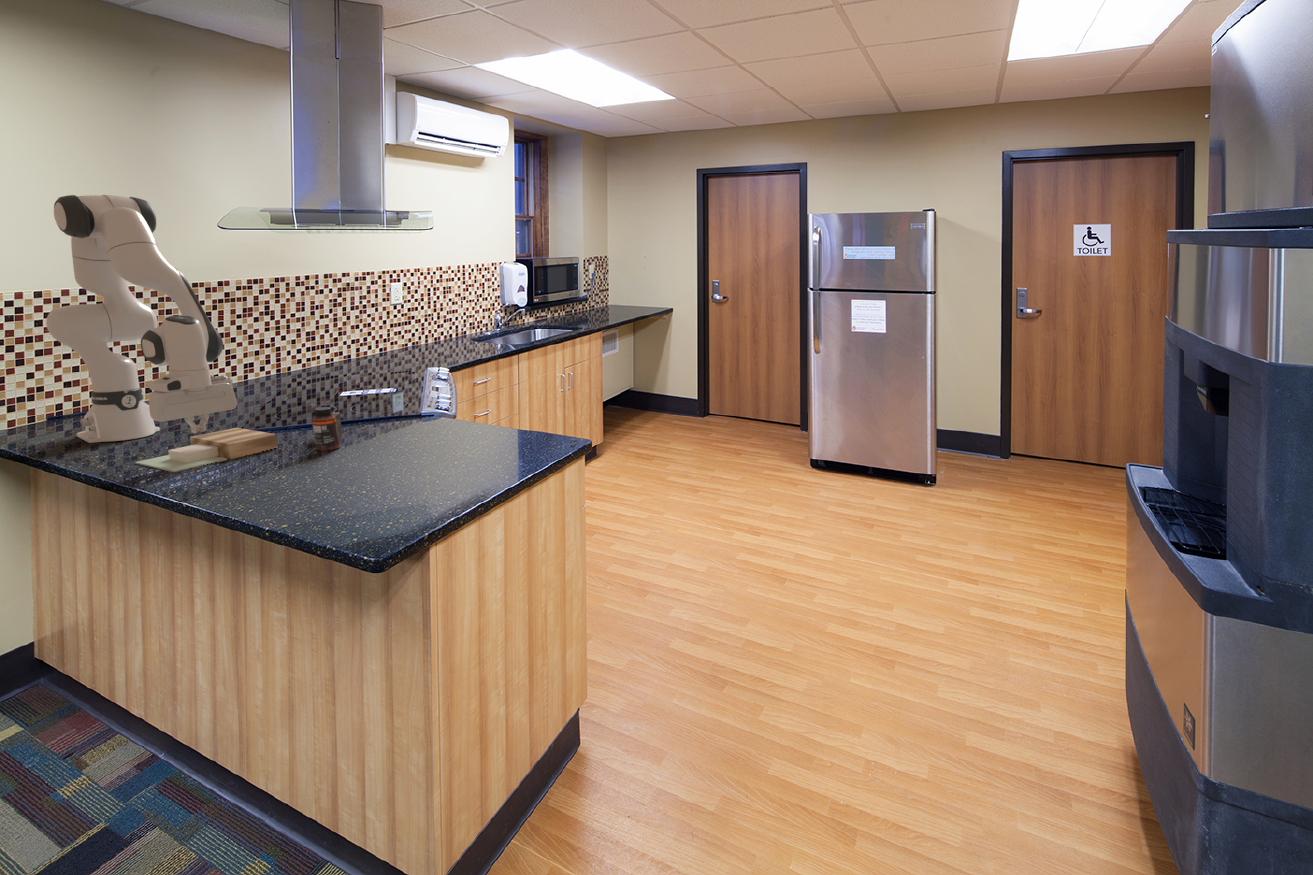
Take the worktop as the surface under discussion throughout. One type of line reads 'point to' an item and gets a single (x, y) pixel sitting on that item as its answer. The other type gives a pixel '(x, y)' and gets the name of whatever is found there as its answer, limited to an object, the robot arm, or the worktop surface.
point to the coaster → (193, 453)
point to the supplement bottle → (325, 429)
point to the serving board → (237, 442)
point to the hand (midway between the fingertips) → (199, 431)
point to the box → (338, 424)
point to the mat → (177, 463)
